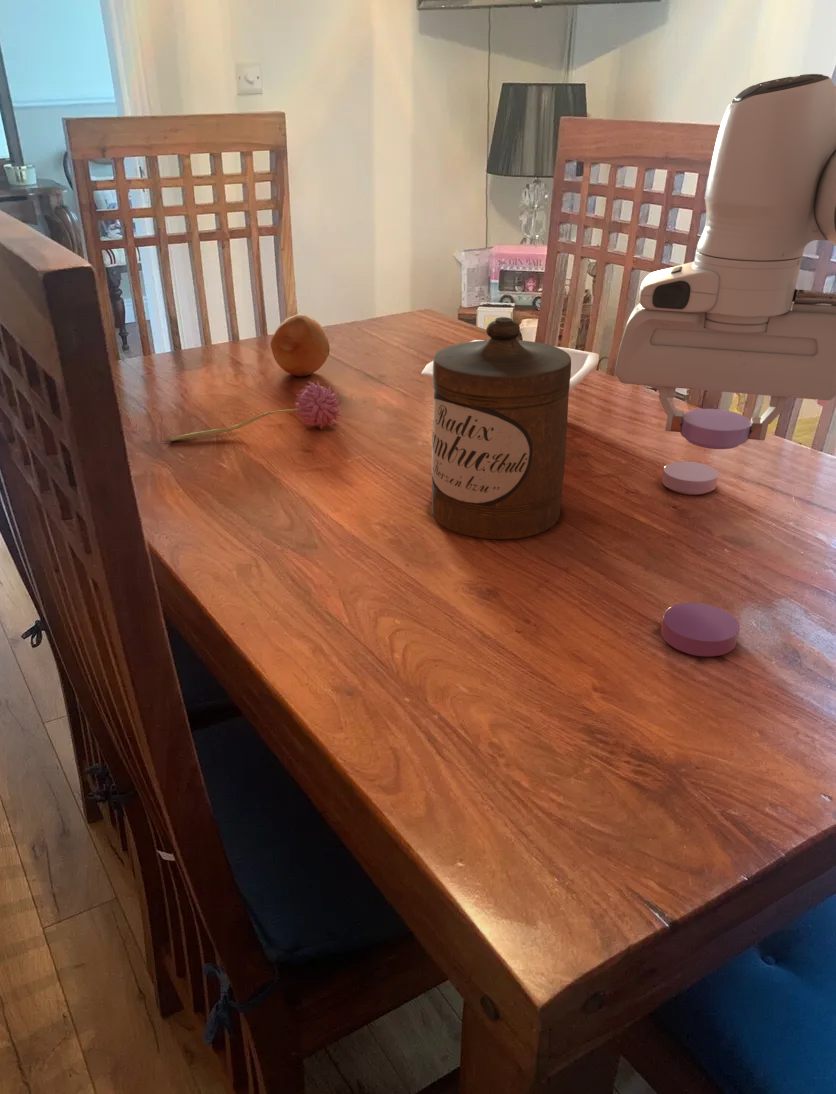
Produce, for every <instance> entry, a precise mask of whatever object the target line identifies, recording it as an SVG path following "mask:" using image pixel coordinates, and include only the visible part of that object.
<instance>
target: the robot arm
mask: <svg viewBox="0 0 836 1094" xmlns="http://www.w3.org/2000/svg"><path fill="white" fill-rule="evenodd" d="M718 129H719V130H718V132H717V136H716V140H715V144H714V149H713V152H712V157H711V162H710V166H709V171H708V177H707V183H706V187H705V188H706V189H705V196H704V202H705V203H704V204H705V210H706V211H705V213H706V215H705V216H706V217H705V222H704V223H705V224H704V227H703V231H702V233H701V235H700V237H699V239H698V242H697V244H696V250H695V256H694V261H691V262H687V263H683V264H680V265H676V266H672V267H667V268H664V269H660V270H656V271H652V272H650V273H649V274H647V275H646V276H645V278H644V279H643V280H642V281H641V284H640V287H639V290H638V291H639V292H638V294H639V295H638V301H639V303H638V304H637V305H635V307H633V310H632V312H631V313H630V315H629V317H628V319H627V322H626V325H625V328H624V331H623V334H622V337H621V341H620V344H619V348H618V352H617V356H616V361H615V368H614V374H615V377H617V379H618V381H619V382H620V383H622V384H625V385H637V386H651V387H659V394H658V399H659V402H660V403H661V405H662V408H663V409H664V412H665V415H666V416H667V417H666V424H665V429H664V431H665V432H670V433H671V432H673V433H680V432H681V423H682V420H683V415H684V414H685V410H681V409H676V407H675V404H674V402H673V400H672V399H673V398H674V397H675V392H676V389H684V390H685V389H686V390H696V391H697V390H698V391H709V392H720V393H730V394H731V393H732V394H733V393H734V394H745V395H755V396H756V395H757V396H768V405H769V406H768V408H767V409H766V410H765V411H764V412H763V414H762V415H761V416H759V417H758V416H751V418H750V420H751V430H750V433H749V438H748V440H752V441H765V440H766V437H767V433H768V428H769V425H771V424H772V423H773V422H774V421H775V420H776V418H777V417H779V415H780V414H782V413H783V411H784V410H785V409H786V406H787V401H788V398H791V399H792V398H793V399H803V400H816V401H832V400H833V399H834V398H836V291H833V292H826V291H819V290H814V289H813V290H811V289H810V290H809V289H797V288H796V287H797V282H798V278H799V274H800V269H801V265H802V261H803V255H804V253H805V252H804V251H805V248H806V246H808V244H810V243H811V242H813V241H828V242H830V243H831V244H832V245H834V246H835V247H836V84H835V83H834V82H833V80H832V78H831V77H830V76H828V75H824V74H821V73H806V74H800V75H796V76H795V75H794V76H785V77H780V78H776V79H772V80H768V81H767V80H766V81H763V82H758V83H756V84H752V85H750V86H748V87H747V88H745V89H743V90H742V91H741V92H739V93H738V94H737V95H735V97H734V98H733V99H732V100H731V101H730V102H729V104H728V106H727V108H726V110H725V112H724V115H723V117H722V120H721V123H720V126H719V128H718Z"/></svg>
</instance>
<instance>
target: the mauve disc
mask: <svg viewBox="0 0 836 1094" xmlns="http://www.w3.org/2000/svg"><path fill="white" fill-rule="evenodd" d="M740 629H741V628H740V623H739V622H738V619H736V617H735V616H734V615H732V614H731V613H729V612H728V611H727V610H725V609H722V608H720V607H717V606H715V605H712V604H707V603H702V602H681V603H677V604H674V605H672V606H670V607H668V608H667V609H666V610H665V611H664V613H663V616H662V621H661V628H660V635H661V637H662V638H663V640H664V641H665V642H666V643H667V644H668V645H669V646H671V647H672V648H674V649H676V650H678V651H680V652H682V653H685V654H688V655H692V656H697V657H719V656H723V655H726V654H728V653H731V652H732V651H733V650H734V649H735V648H736V646H737V643H738V638H739V634H740Z"/></svg>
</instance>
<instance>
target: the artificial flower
mask: <svg viewBox="0 0 836 1094" xmlns="http://www.w3.org/2000/svg"><path fill="white" fill-rule="evenodd" d="M316 381H317V382H316V384H315V383H314V382H312V381H310V380H309V381H307V383H308V384H309V385H305V384H304V385H303V386H304V387H305V389H300V390H299V392H300V393H296V398H295V399H296V401H294V404H295V406H294V407H295V408H289V409H280V410H273V411H267V412H264V413H261V414H259V415H257V416H254V417H252V418H250V419H249V418H248V419H247V420H246V421H243V422H241V423H238V424H235V425H233V426H229V427H223V428H217V429H209V430H202V431H196V432H190V433H186V434H180V435H176V436H172V437H170V441H171V442H179V441H184V440H189V439H193V438H198V437H204V436H210V435H216V434H221V433H228V432H231V431H234V430H238V429H242V428H243V427H245V426H246V425H249V424H251V423H253V422H254V421H257V420H259V419H261V418H264V417H266V416H269V415H274V414H279V413H287V412H288V413H289V412H295V411H296V412H295V415H297V414H299V415H301V416H302V417H300V418H299V420H298V421H303V422H304V423H306V425H307V426H310V427H318V428H320V430H323V427H326V426H328V427H330V428H332V426H333V423H334V421H336V422H339V420H338V419H339V417H341V416H342V415H341V414H340V409H339V407H340V406H341V404H343V400H340V401H338V399H337V396H338V395H339V392H335V391H333V392H332V385H329V387H328V388H326V386H325V385H324V386H321V384H320V382H319V380H316ZM331 393H332V394H331ZM295 399H294V400H295Z"/></svg>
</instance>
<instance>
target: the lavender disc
mask: <svg viewBox="0 0 836 1094" xmlns="http://www.w3.org/2000/svg"><path fill="white" fill-rule="evenodd" d="M750 430H751V418H749V417H748V416H746V415H743V414H741V413H738V412H735V411H732V410H728V409H720V408H698V409H691V410H688V411H685V412H684V414H683V420H682V423H681V432H679V434H680V435H681V436H682V437H683V438H684V439H685V440H686V442H688V443H690V444H691V445H694V446H697V447H700V448H704V449H710V450H731V449H735V448H738V447H739V446H741V445H743V444H745V443H747V442H748V441H749V439H748V438H749V433H750Z"/></svg>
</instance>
